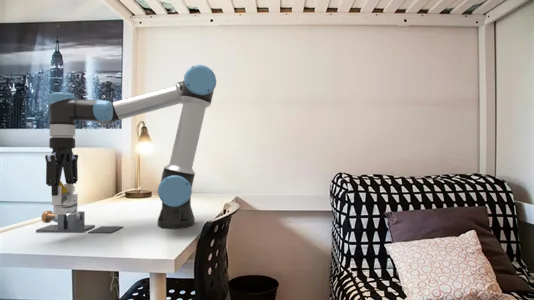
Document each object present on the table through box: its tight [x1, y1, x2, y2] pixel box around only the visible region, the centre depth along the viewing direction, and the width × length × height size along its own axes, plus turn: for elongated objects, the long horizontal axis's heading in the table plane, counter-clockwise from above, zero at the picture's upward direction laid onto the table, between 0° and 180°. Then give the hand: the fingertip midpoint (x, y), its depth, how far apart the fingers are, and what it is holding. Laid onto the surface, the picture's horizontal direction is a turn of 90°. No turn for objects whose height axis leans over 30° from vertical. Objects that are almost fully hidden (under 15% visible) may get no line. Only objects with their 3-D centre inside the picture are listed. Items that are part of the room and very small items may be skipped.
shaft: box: [41, 210, 81, 224], centre depth 120 cm, size 13×5×5 cm, turn 88°
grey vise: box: [35, 210, 96, 234], centre depth 120 cm, size 18×8×7 cm, turn 88°
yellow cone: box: [59, 180, 70, 204], centre depth 107 cm, size 5×5×10 cm
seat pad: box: [88, 225, 124, 234], centre depth 119 cm, size 9×9×1 cm
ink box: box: [53, 185, 78, 223], centre depth 138 cm, size 8×5×15 cm, turn 134°
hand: (62, 203), depth 107 cm, fingers closed on yellow cone, 5 cm apart
